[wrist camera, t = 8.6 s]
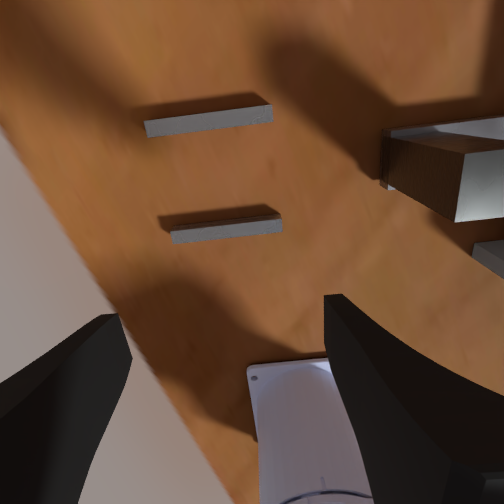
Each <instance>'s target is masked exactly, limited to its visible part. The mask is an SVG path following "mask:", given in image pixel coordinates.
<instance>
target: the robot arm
mask: <svg viewBox="0 0 504 504" xmlns="http://www.w3.org/2000/svg"><path fill="white" fill-rule="evenodd" d="M324 344H325V348H326V353H327V357H328V358H320V359H309V360H299V361H289V362H278V363H268V364H257V365H250V366H249V367H248V368H247V378H248V384H249V390H250V396H251V402H252V408H253V414H254V420H255V426H256V432H257V438H258V453H259V491H260V504H504V396H503V395H500V394H498V393H496V392H493V391H491V390H489V389H487V388H485V387H483V386H480V385H478V384H476V383H474V382H472V381H470V380H468V379H466V378H464V377H462V376H460V375H458V374H456V373H454V372H452V371H450V370H448V369H447V368H445V367H443V366H441V365H439V364H437V363H436V362H434V361H432V360H431V359H429V358H427V357H426V356H424V355H422V354H421V353H419V352H417V351H416V350H414V349H412V348H411V347H409V346H408V345H406V344H405V343H403V342H402V341H401V340H399V339H398V338H396V337H395V336H393V335H392V334H391V333H389V332H388V331H387V330H385V329H384V328H383V327H381V326H380V325H379V324H377V323H376V322H375V321H374V320H372V319H371V318H370V317H369V316H367V315H366V314H365V313H364V312H363V311H361V310H360V309H359V308H358V307H357V306H356V305H354V304H353V303H352V302H351V301H350V300H349V299H347V298H346V297H345V296H344V295H343V294H333V295H324ZM132 359H133V358H132V355H131V352H130V349H129V346H128V343H127V340H126V337H125V334H124V331H123V328H122V324H121V321H120V318H119V315H118V313H115V314H104V315H100V316H98V317H96V318H95V319H93V320H92V321H90V322H89V323H87V324H86V325H84V326H83V327H82V328H80V329H79V330H77V331H76V332H74V333H73V334H72V335H70V336H69V337H68V338H66V339H65V340H63V341H62V342H61V343H59V344H58V345H57V346H55V347H54V348H52V349H51V350H49V351H48V352H47V353H45V354H44V355H42V356H41V357H39V358H38V359H36V360H35V361H33V362H32V363H30V364H29V365H28V366H26V367H25V368H23V369H22V370H20V371H19V372H17V373H16V374H14V375H12V376H11V377H9V378H8V379H6V380H5V381H3V382H1V383H0V504H78V501H79V498H80V495H81V492H82V489H83V486H84V483H85V480H86V477H87V474H88V471H89V468H90V465H91V462H92V460H93V458H94V455H95V452H96V450H97V448H98V445H99V443H100V441H101V439H102V436H103V434H104V432H105V430H106V428H107V425H108V423H109V421H110V418H111V416H112V414H113V412H114V410H115V407H116V405H117V403H118V400H119V398H120V396H121V393H122V391H123V389H124V386H125V383H126V380H127V377H128V373H129V370H130V366H131V362H132ZM252 376H256V377H252Z"/></svg>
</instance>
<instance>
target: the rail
mask: <svg viewBox="0 0 504 504" xmlns="http://www.w3.org/2000/svg"><path fill="white" fill-rule="evenodd" d="M267 122H273V112H272V104H271V105H263V106H255V107H248V108H240V109H232V110H225V111H217V112H209V113H201V114H194V115H186V116H178V117H171V118H163V119H155V120H148V121H144V125H145V129H146V133H147V137H148V138H150V137H157V136H165V135H173V134H181V133H189V132H197V131H204V130H212V129H220V128H228V127H236V126H244V125H251V124H259V123H267ZM276 232H283V230H282V219H281V215H280V214H271V215H263V216H254V217H245V218H237V219H228V220H219V221H211V222H202V223H193V224H185V225H176V226H173V228H172V229H171V231H170V233H171V237H172V242H173V244H179V243H188V242H197V241H206V240H215V239H223V238H232V237H241V236H250V235H259V234H268V233H276Z"/></svg>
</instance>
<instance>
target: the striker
mask: <svg viewBox="0 0 504 504" xmlns="http://www.w3.org/2000/svg"><path fill="white" fill-rule="evenodd" d="M380 186H382V187H383V188H385V189H387V190H393V189H397V190H398V191H400V192H402V193H404V194H405V195H407V196H409V197H411V198H413V199H414V200H416V201H418V202H420V203H421V204H423V205H425V206H427V207H428V208H430V209H432V210H434V211H435V212H437V213H439V214H441V215H442V216H444V217H446V218H448V219H449V220H451V221H453V222H463V221H472V220H481V219H490V218H499V217H504V114H502V115H494V116H486V117H478V118H470V119H462V120H454V121H446V122H438V123H430V124H422V125H414V126H406V127H398V128H390V129H382V144H381V165H380Z"/></svg>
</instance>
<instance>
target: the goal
mask: <svg viewBox="0 0 504 504" xmlns="http://www.w3.org/2000/svg"><path fill="white" fill-rule="evenodd" d="M472 258H474V259H475V260H477V261H478V262H479V263H481V264H482V265H484V266H485V267H487V268H488V269H490V270H491V271H493V272H494V273H496V274H497V275H499V276H500V277H501V278H503V279H504V240H497V241H488V242H479V243H474V248H473V253H472Z"/></svg>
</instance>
